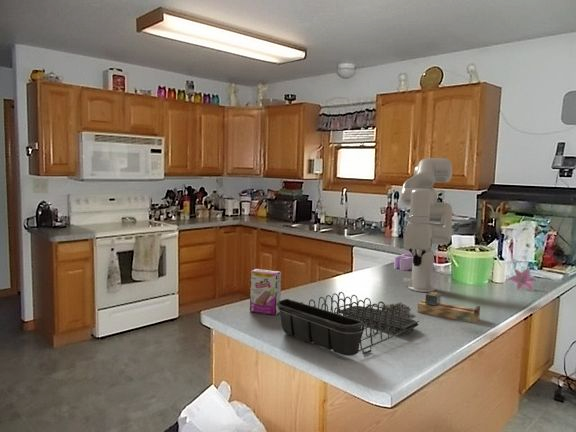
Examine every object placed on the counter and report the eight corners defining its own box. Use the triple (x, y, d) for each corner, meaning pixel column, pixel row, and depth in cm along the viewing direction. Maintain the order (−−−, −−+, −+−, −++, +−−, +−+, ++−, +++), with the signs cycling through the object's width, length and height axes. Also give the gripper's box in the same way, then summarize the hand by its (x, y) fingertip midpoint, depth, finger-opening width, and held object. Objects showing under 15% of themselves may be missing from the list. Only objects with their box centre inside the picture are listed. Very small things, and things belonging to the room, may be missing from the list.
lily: (503, 289, 221) (509, 275, 216) (510, 276, 229) (516, 262, 223) (528, 300, 216) (535, 286, 210) (535, 287, 223) (542, 273, 218)
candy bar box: (249, 312, 174) (249, 270, 172) (254, 308, 179) (254, 268, 177) (276, 316, 171) (277, 273, 169) (280, 312, 175) (281, 271, 174)
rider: (425, 306, 177) (425, 294, 177) (429, 303, 182) (429, 291, 182) (436, 308, 175) (437, 296, 174) (440, 305, 180) (440, 293, 179)
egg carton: (389, 318, 171) (389, 308, 170) (378, 313, 178) (379, 302, 177) (412, 316, 175) (413, 305, 174) (401, 310, 182) (401, 300, 181)
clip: (406, 271, 252) (407, 259, 251) (388, 267, 262) (389, 256, 261) (427, 267, 264) (428, 256, 264) (410, 263, 274) (410, 252, 273)
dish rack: (270, 334, 152) (271, 299, 151) (354, 309, 182) (355, 280, 181) (348, 368, 127) (349, 327, 126) (429, 332, 157) (431, 299, 156)
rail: (417, 312, 179) (418, 300, 178) (421, 308, 184) (422, 296, 184) (476, 323, 167) (477, 310, 167) (479, 318, 172) (480, 306, 172)
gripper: (398, 219, 180) (395, 264, 181) (436, 222, 172) (433, 269, 173) (404, 218, 186) (401, 262, 188) (441, 221, 178) (438, 266, 180)
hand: (417, 265), depth 180 cm, fingers closed
